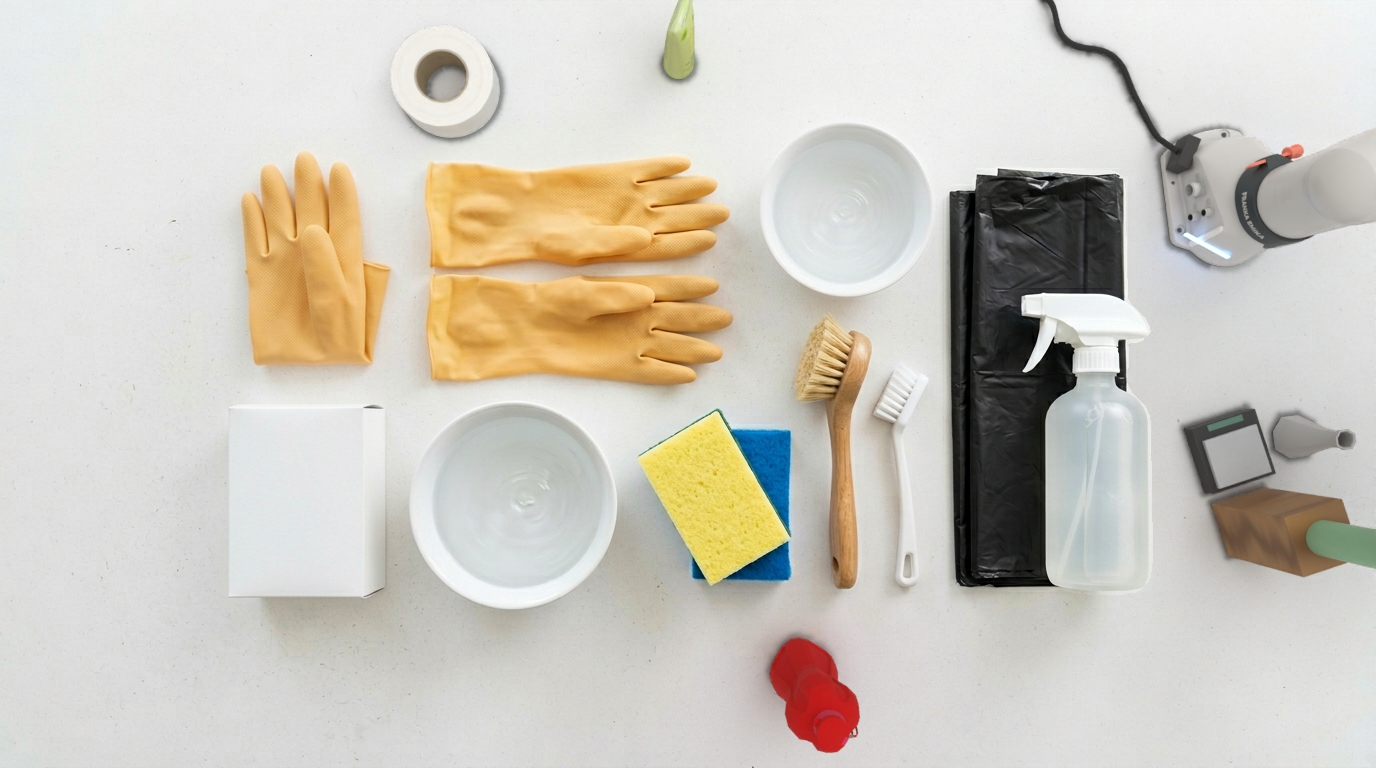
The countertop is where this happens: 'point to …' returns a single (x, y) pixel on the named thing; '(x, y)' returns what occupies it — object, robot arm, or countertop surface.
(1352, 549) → the green bottle
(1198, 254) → the robot arm
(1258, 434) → the scale
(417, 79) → the tape roll
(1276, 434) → the flask
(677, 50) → the tube
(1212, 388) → the countertop surface
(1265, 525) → the brown wooden block
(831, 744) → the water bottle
